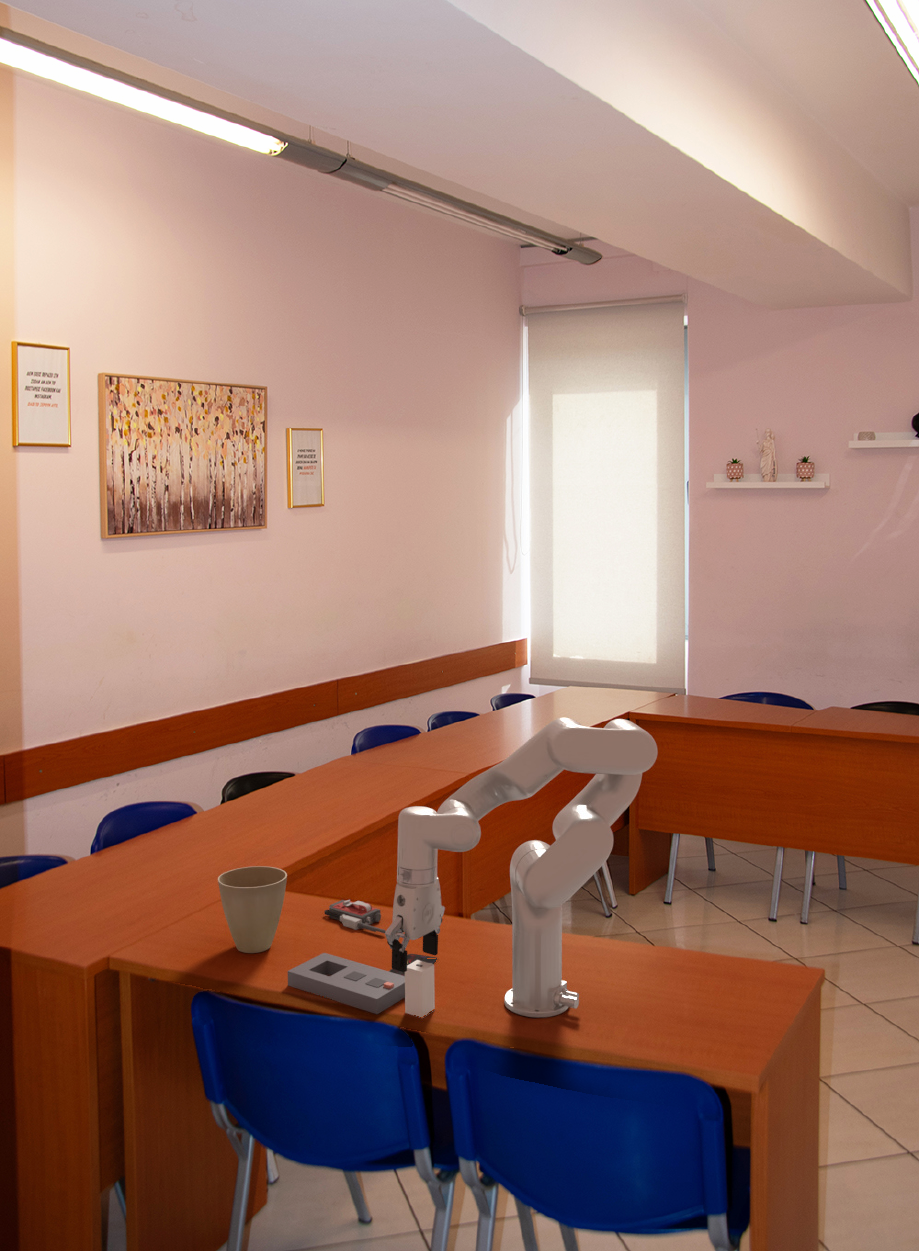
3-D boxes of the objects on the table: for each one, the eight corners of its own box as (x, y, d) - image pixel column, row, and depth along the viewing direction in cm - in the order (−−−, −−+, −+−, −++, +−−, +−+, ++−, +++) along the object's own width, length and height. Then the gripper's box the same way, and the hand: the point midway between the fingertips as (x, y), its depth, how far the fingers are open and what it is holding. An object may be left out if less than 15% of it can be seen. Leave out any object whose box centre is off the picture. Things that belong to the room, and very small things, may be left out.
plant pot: (297, 952, 228) (295, 881, 226) (229, 965, 221) (227, 891, 220) (277, 929, 241) (275, 861, 240) (212, 940, 235) (210, 871, 233)
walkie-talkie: (317, 920, 247) (382, 939, 236) (317, 902, 247) (381, 920, 235) (343, 909, 254) (406, 927, 243) (342, 891, 254) (406, 909, 242)
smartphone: (439, 957, 224) (410, 985, 210) (439, 960, 224) (410, 988, 210) (408, 952, 227) (378, 980, 213) (408, 955, 227) (378, 983, 213)
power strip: (412, 992, 208) (411, 975, 207) (377, 1014, 198) (376, 995, 198) (324, 966, 220) (324, 949, 220) (287, 985, 211) (287, 968, 211)
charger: (434, 1009, 200) (434, 963, 199) (422, 1017, 197) (421, 970, 196) (417, 1004, 202) (417, 958, 202) (405, 1012, 199) (404, 966, 198)
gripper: (405, 889, 188) (403, 982, 189) (459, 866, 202) (457, 952, 204) (372, 881, 192) (370, 971, 194) (427, 858, 206) (425, 942, 208)
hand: (414, 961), depth 199 cm, fingers open, 9 cm apart
